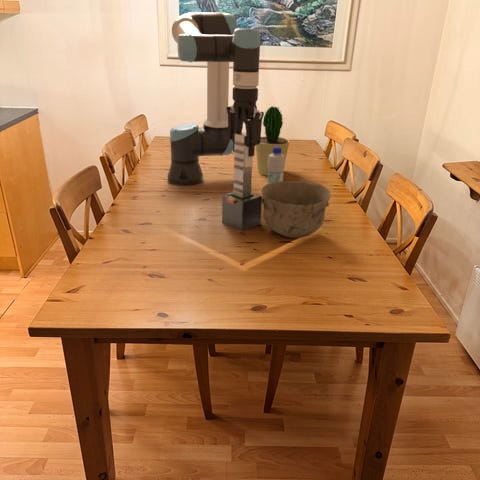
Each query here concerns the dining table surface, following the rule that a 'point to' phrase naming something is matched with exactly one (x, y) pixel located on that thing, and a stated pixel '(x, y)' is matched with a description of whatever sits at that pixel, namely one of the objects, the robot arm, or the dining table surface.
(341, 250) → the dining table surface
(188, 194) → the dining table surface
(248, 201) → the stand base
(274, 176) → the bottle
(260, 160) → the potted cactus
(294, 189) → the bowl
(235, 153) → the column
